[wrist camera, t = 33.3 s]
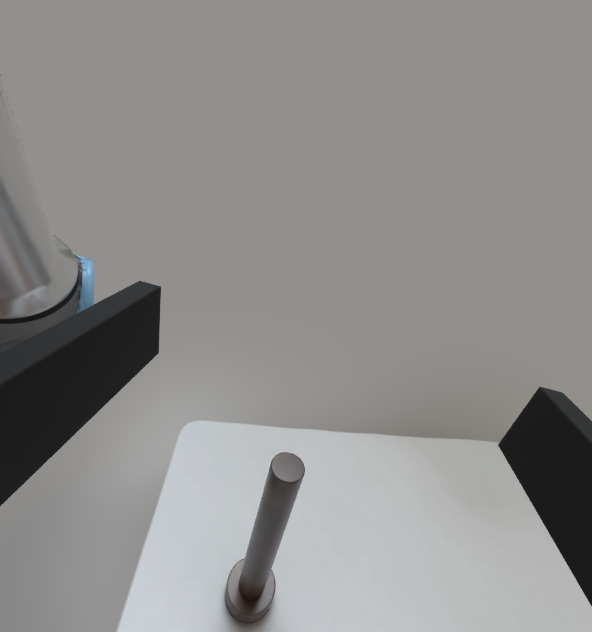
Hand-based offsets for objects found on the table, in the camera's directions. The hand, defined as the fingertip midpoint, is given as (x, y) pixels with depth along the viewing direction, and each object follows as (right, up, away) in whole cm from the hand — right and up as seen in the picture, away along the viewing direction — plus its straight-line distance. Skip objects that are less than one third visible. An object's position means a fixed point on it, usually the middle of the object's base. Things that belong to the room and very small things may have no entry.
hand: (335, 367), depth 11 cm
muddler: (-6, -24, +18) cm, 31 cm away
